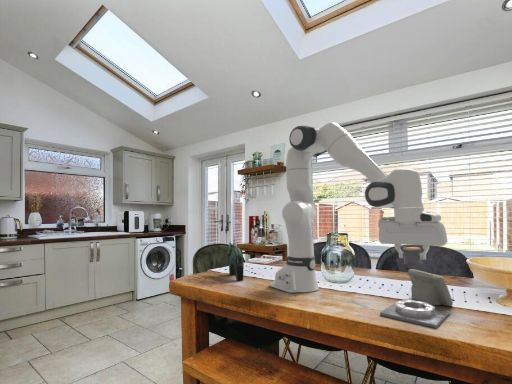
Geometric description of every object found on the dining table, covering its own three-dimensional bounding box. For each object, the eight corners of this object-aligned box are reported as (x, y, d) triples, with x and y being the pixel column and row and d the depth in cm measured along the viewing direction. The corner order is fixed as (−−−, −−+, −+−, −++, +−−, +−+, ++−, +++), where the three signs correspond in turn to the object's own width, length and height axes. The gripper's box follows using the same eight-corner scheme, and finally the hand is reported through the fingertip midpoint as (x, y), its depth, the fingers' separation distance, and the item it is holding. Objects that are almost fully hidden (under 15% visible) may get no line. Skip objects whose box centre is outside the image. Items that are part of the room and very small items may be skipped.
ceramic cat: (226, 274, 165) (226, 238, 166) (238, 273, 167) (237, 237, 168) (234, 282, 146) (234, 241, 147) (247, 280, 148) (246, 240, 149)
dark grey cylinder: (402, 264, 97) (400, 248, 97) (407, 261, 100) (406, 247, 101) (418, 265, 93) (417, 249, 94) (423, 263, 97) (422, 247, 97)
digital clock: (456, 307, 102) (454, 276, 102) (430, 308, 101) (428, 277, 102) (427, 294, 118) (425, 267, 119) (405, 295, 118) (403, 268, 118)
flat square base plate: (380, 315, 96) (379, 306, 96) (398, 303, 107) (397, 295, 107) (436, 328, 84) (435, 317, 85) (449, 313, 96) (449, 304, 96)
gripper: (374, 217, 103) (377, 257, 102) (441, 216, 89) (445, 262, 88) (381, 216, 108) (384, 255, 107) (446, 215, 93) (450, 259, 92)
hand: (412, 258), depth 97 cm, fingers closed on dark grey cylinder, 5 cm apart
